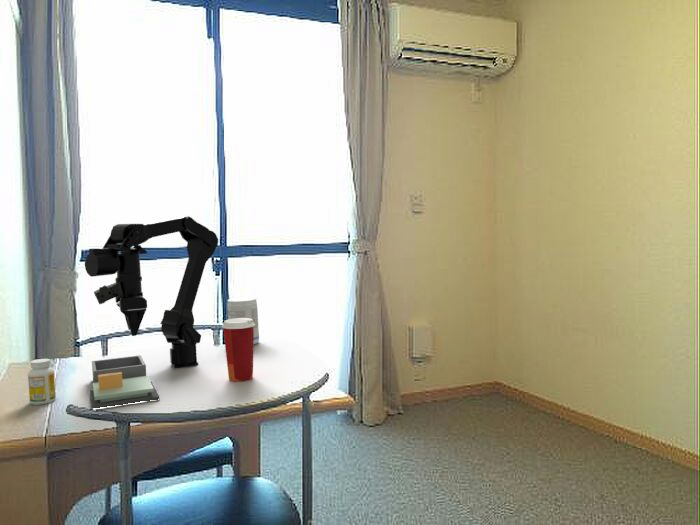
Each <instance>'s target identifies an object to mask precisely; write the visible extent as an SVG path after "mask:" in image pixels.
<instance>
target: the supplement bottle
mask: <svg viewBox="0 0 700 525" xmlns="http://www.w3.org/2000/svg"><path fill="white" fill-rule="evenodd" d="M51 364H52V363H51V359H50V358H38V359H33V360H32V361H30V368H31V370H29V372H28V374H27V377H28V378H27V380H28V381H27V382H28V394H29V395H28V396H29V404H30V405H34V406H37V405H38V406H40V405H46V404H49V403H52V402H54V401H55V400H56V399H57V398H56V382H55V380H56V379H55V370H54V369H53V368H52V367H50V366H51Z"/></svg>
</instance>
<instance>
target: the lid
mask: <svg viewBox="0 0 700 525" xmlns="http://www.w3.org/2000/svg"><path fill="white" fill-rule="evenodd" d="M148 376H149V375H146V376H141V377H134V378H126V379H122V372H117V373H109V374H102V375H98V381H99V382H97V383H93V382H92V390H93V392H94V399H95V400H100V402H107V401H114V400H121V399H127V398H134V397H141V396H148V392H154V388H153V386H152V384H151V380H150V377H148Z"/></svg>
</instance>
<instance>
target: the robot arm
mask: <svg viewBox="0 0 700 525" xmlns="http://www.w3.org/2000/svg"><path fill="white" fill-rule="evenodd" d="M178 232H179V235H180V236H181V238H182V239H183V240H184V241H185V242H187V243H186V252H187V257H188V260H187V263H186V266H185V269H184V273H183V276H182V280H181V284H180V286H179V290H178V292H177V293H178V294H177V296H176V300H175V304H174V305H173V306H172V308H171V309H165V310H164V312H163V315H162V319H161V322H160V323H159V324H160V325H161V327H160V329H161V330H160V331H161V332H162V335H163V336H164V337H165V340H166V342H167V343H168V344H171V348H169V359H170V362H169V363H170V364H171V365H172V366H173V367H174V368H177V369H178V368H183V367H191V366H192V367H193V366H198V365H199V362H198V359H197V357H198V356H197V355H198V354H197V344H199V343H201V338H202V335H201V333H199V332H198V330H196V328H194V324H195V316H194V313H193V308H194V304H195V301H196V298H197V294H198V291H199V287H200V284H201V280H202V277H203V273H204V270H205V267H206V263H207V262H208V261H209V260H210V258H212V256H213V255H215V254H214V253H215V251H216V249H217V248H218V244H219V238H218V235H217V234H216V233H215V232H214V231H213V230H210V229H209V228H208V227H206V226H205V225H203V224H202V223H199V222H198V221H196V220H195V219H194V218H193V217H191V216H188V215H185V216H184V215H183V216H176V217H174V218H168V219H163V220H158V221H153V222H147V223H117V224H115V225H113V227H112V229H111V231H110V235H109V237H108V238H107V240H106V242H105V244H104V245H103V247H101V248H89V249H88V254H86V255H87V256H86V257H85V261H84V268H85V271H86V274H87V275H88V276H89V277H100V276H101V277H103V276H110V275H111V276H112V275H115V274H116V277H115V282H114V283H112V284H111V283H110V284H109V285H103V286H101V287H100V286H99V288H98V289H97V290H95V291H93V295H94V296H95V299H96V301H97V303H98V304H99V305H103V304H105V303H106V302H107V301H110V300H112V299H115V303H116V306H117V307H119V311H120V313H122V314H123V315H124V317H125V322H126V325H127V329H128V331H130V334H131V336H132V337H136V336H137V335H138V332H139V330H140V326H141V325H142V324H141V323H142V322H143V319H144V317H145V314H146V311H147V308H148V301H147V299H146V298H145V297H144V292H143V290H142V281H143V277H142V274H141V272H142V271H141V258H140V257H141V256H140V255H146V254H148V251H147V250H146V249H145V248H143V247H142V245H141V244H143V243H146V242H147V241H149V240H150V239H152V238H156V237H160V236H165V235H169V234H175V233H178Z"/></svg>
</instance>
